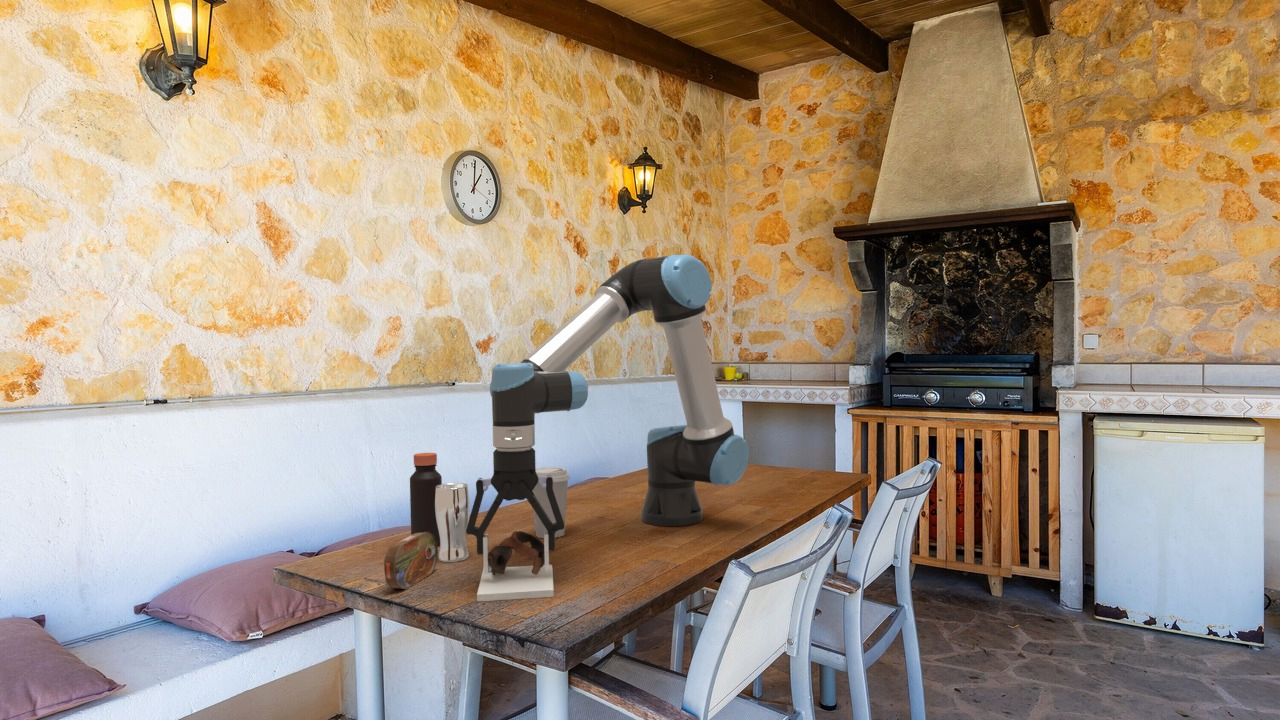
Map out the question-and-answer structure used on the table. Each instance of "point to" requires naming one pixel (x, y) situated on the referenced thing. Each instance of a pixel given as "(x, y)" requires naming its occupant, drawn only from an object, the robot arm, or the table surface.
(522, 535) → the broken pottery vessel
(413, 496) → the bottle
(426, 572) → the tin
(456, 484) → the beer glass
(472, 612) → the table surface
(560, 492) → the coffee cup
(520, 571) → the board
